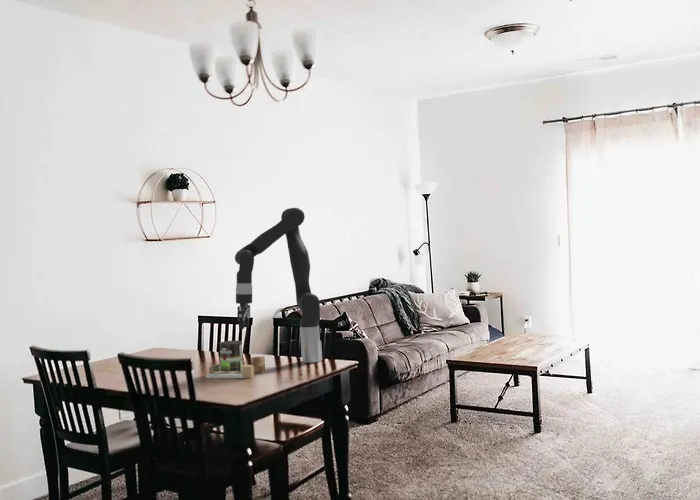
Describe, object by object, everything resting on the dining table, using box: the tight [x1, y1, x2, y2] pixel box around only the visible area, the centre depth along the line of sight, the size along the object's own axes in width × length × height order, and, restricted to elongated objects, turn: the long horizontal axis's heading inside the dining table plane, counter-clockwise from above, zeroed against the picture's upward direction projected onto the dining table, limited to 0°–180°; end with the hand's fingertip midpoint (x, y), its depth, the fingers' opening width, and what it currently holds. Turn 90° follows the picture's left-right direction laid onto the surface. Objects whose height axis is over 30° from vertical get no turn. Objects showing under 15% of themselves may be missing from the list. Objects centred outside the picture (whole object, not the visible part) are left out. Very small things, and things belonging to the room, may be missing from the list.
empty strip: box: [205, 364, 255, 379], centre depth 296 cm, size 22×4×5 cm, turn 75°
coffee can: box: [218, 340, 244, 371], centre depth 306 cm, size 10×10×14 cm
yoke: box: [208, 356, 266, 375], centre depth 305 cm, size 23×15×7 cm, turn 75°
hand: (243, 328), depth 308 cm, fingers open, 8 cm apart
